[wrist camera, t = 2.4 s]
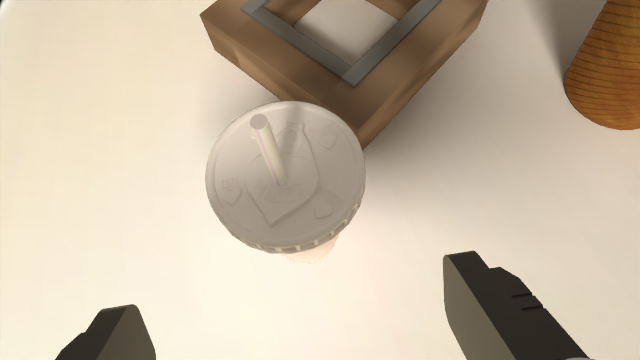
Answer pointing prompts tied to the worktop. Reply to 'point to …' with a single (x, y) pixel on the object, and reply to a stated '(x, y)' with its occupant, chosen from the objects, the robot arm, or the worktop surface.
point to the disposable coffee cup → (609, 68)
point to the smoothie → (286, 179)
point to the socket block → (330, 71)
